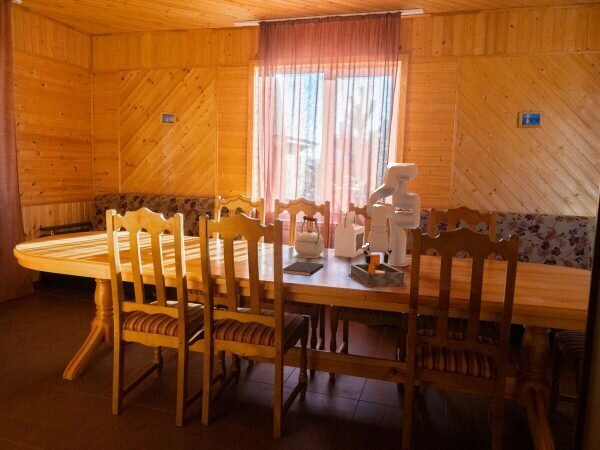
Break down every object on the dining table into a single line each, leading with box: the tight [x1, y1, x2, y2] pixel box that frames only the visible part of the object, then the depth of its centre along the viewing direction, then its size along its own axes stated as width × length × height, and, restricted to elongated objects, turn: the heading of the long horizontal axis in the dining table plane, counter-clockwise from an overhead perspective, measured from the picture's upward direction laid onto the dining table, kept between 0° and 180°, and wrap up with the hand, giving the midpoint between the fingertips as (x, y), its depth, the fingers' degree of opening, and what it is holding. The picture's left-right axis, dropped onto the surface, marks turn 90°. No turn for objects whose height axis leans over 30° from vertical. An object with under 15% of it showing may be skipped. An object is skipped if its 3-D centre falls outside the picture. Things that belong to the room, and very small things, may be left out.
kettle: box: [294, 215, 325, 259], centre depth 291 cm, size 25×18×25 cm
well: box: [348, 262, 407, 289], centre depth 234 cm, size 20×24×6 cm
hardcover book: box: [282, 261, 324, 276], centre depth 255 cm, size 16×23×2 cm
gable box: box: [333, 210, 366, 258], centre depth 302 cm, size 22×13×28 cm, turn 155°
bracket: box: [368, 253, 385, 274], centre depth 234 cm, size 11×7×12 cm, turn 164°
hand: (377, 263), depth 233 cm, fingers open, 9 cm apart
